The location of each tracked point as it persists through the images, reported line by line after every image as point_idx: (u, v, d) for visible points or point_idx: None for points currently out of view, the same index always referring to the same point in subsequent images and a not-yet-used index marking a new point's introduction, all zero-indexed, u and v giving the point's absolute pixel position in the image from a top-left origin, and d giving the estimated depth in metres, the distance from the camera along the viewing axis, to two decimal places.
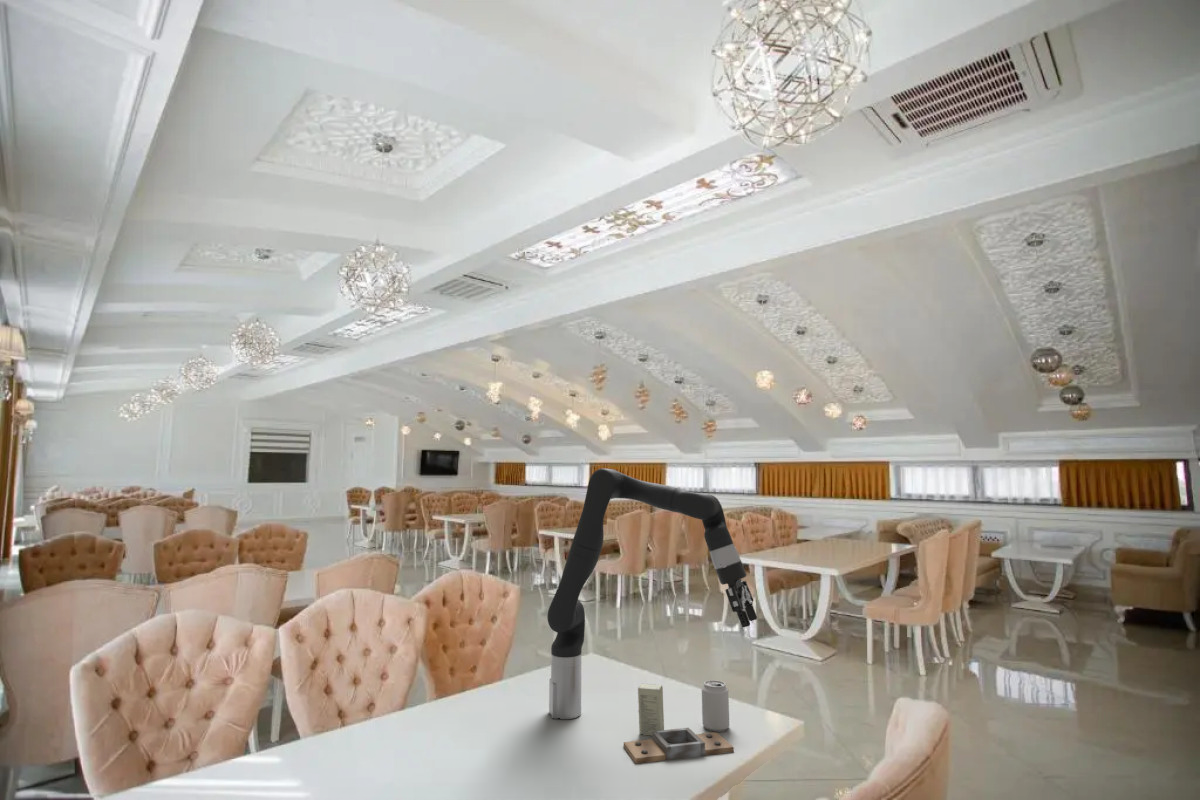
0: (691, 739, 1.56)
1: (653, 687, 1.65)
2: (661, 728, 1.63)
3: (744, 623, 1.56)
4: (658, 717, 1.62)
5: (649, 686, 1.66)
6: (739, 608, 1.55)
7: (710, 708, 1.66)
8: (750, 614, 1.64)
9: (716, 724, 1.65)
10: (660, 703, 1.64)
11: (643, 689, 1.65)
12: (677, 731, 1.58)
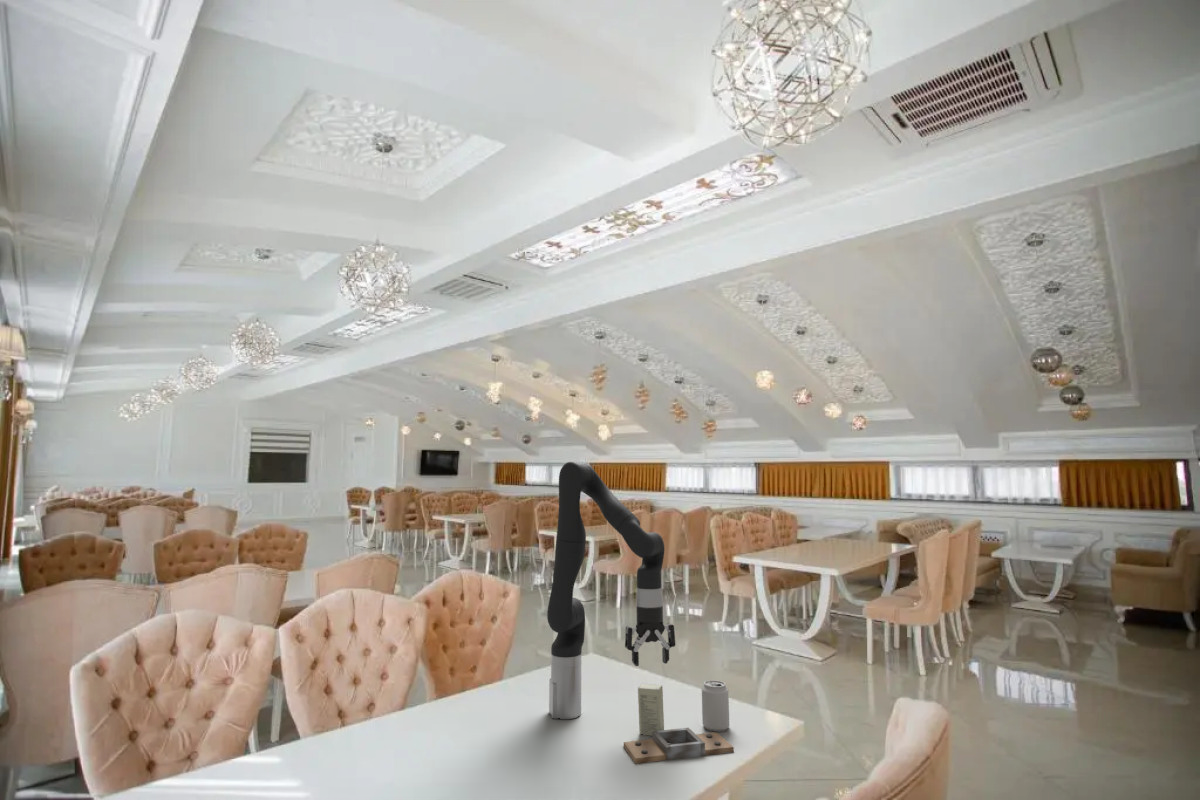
0: (691, 739, 1.56)
1: (653, 687, 1.65)
2: (661, 728, 1.63)
3: (633, 662, 1.66)
4: (658, 717, 1.62)
5: (649, 686, 1.66)
6: (627, 648, 1.66)
7: (710, 708, 1.66)
8: (663, 656, 1.69)
9: (716, 724, 1.65)
10: (660, 703, 1.64)
11: (643, 689, 1.65)
12: (677, 731, 1.58)
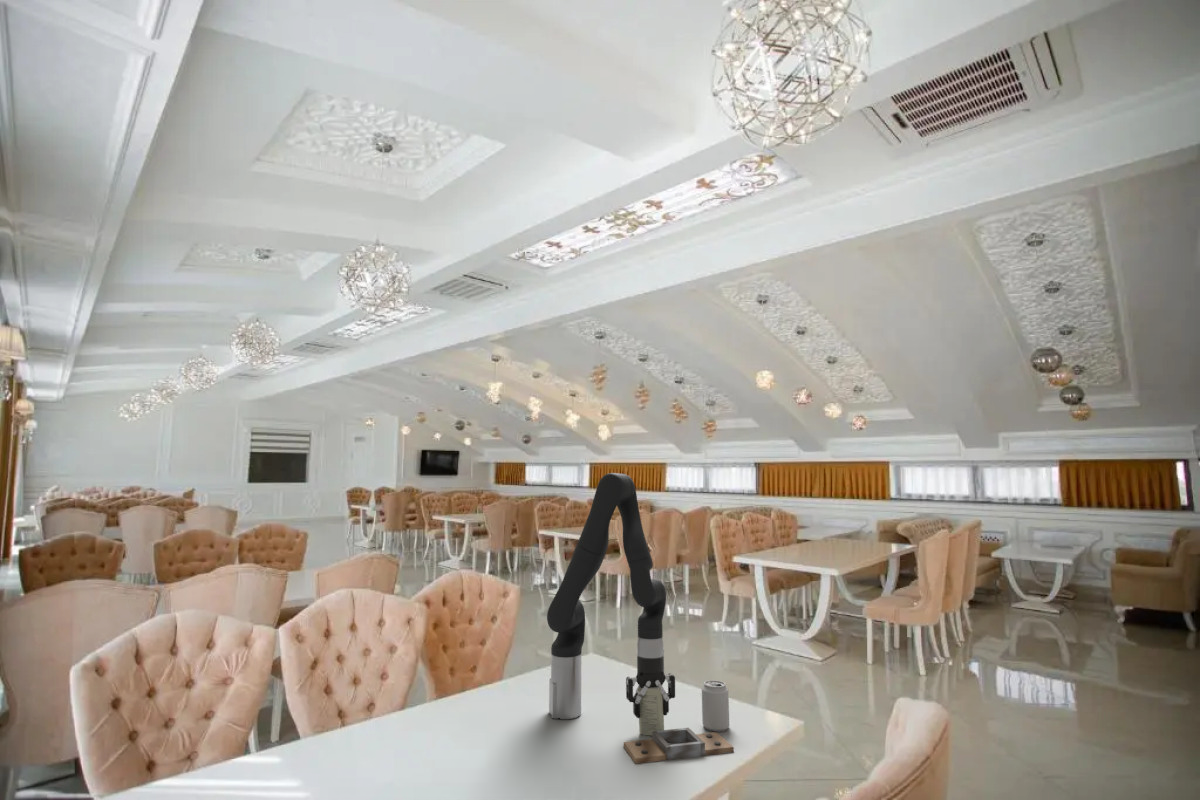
0: (691, 739, 1.56)
1: (653, 687, 1.65)
2: (661, 728, 1.63)
3: (634, 713, 1.64)
4: (658, 717, 1.62)
5: None
6: (628, 699, 1.64)
7: (710, 707, 1.66)
8: (663, 708, 1.66)
9: (716, 724, 1.65)
10: (660, 703, 1.64)
11: None
12: (677, 731, 1.58)
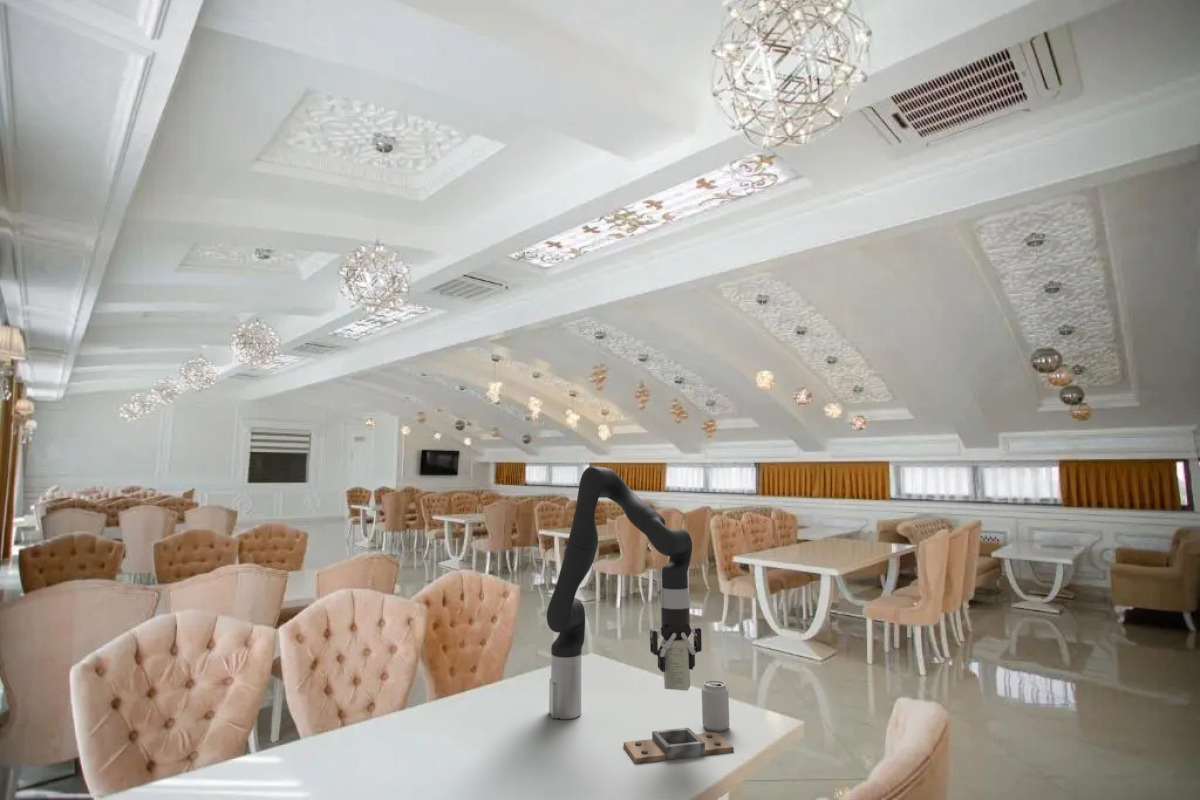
0: (691, 739, 1.56)
1: (678, 640, 1.57)
2: (687, 682, 1.55)
3: (659, 667, 1.56)
4: (684, 670, 1.54)
5: None
6: (653, 652, 1.55)
7: (710, 707, 1.66)
8: (689, 662, 1.58)
9: (716, 724, 1.65)
10: (686, 656, 1.56)
11: None
12: (677, 731, 1.58)
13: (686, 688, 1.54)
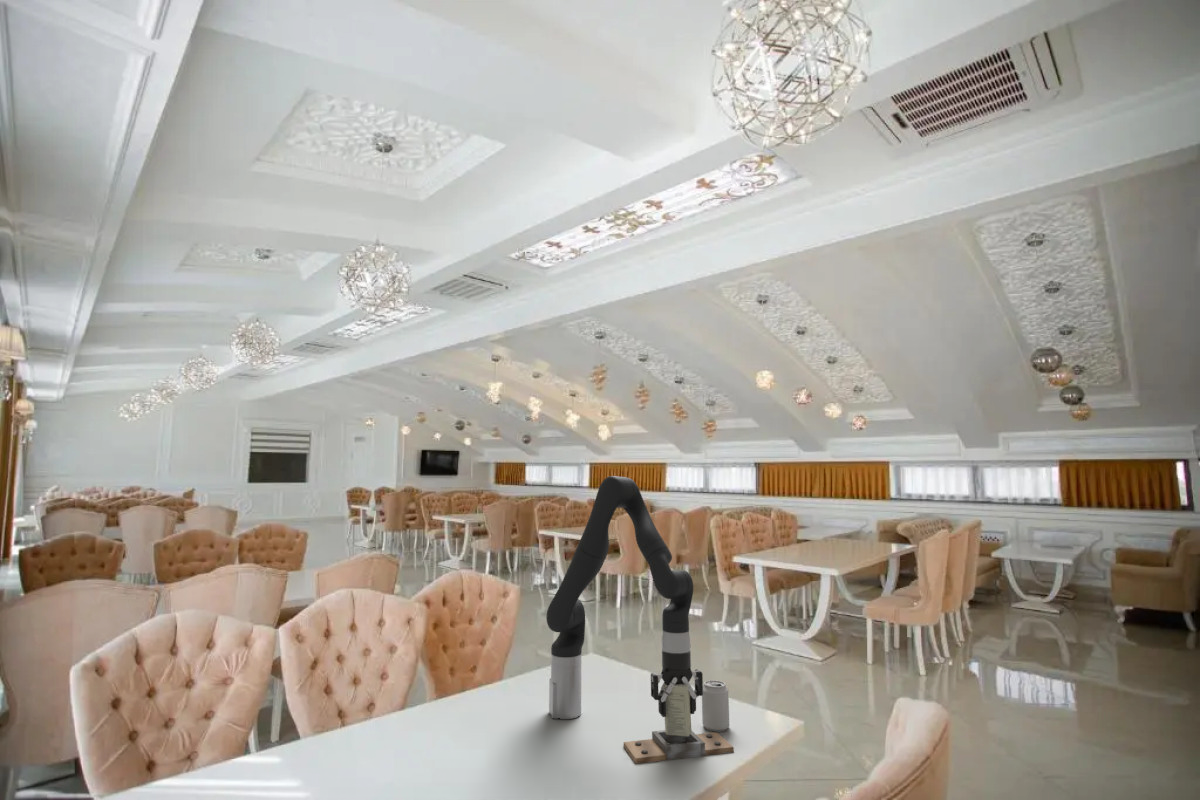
0: (691, 739, 1.56)
1: (679, 684, 1.55)
2: (689, 728, 1.53)
3: (659, 712, 1.54)
4: (685, 716, 1.52)
5: None
6: (653, 697, 1.54)
7: (710, 708, 1.66)
8: (690, 706, 1.56)
9: (716, 724, 1.65)
10: (687, 701, 1.54)
11: None
12: None
13: (687, 734, 1.52)
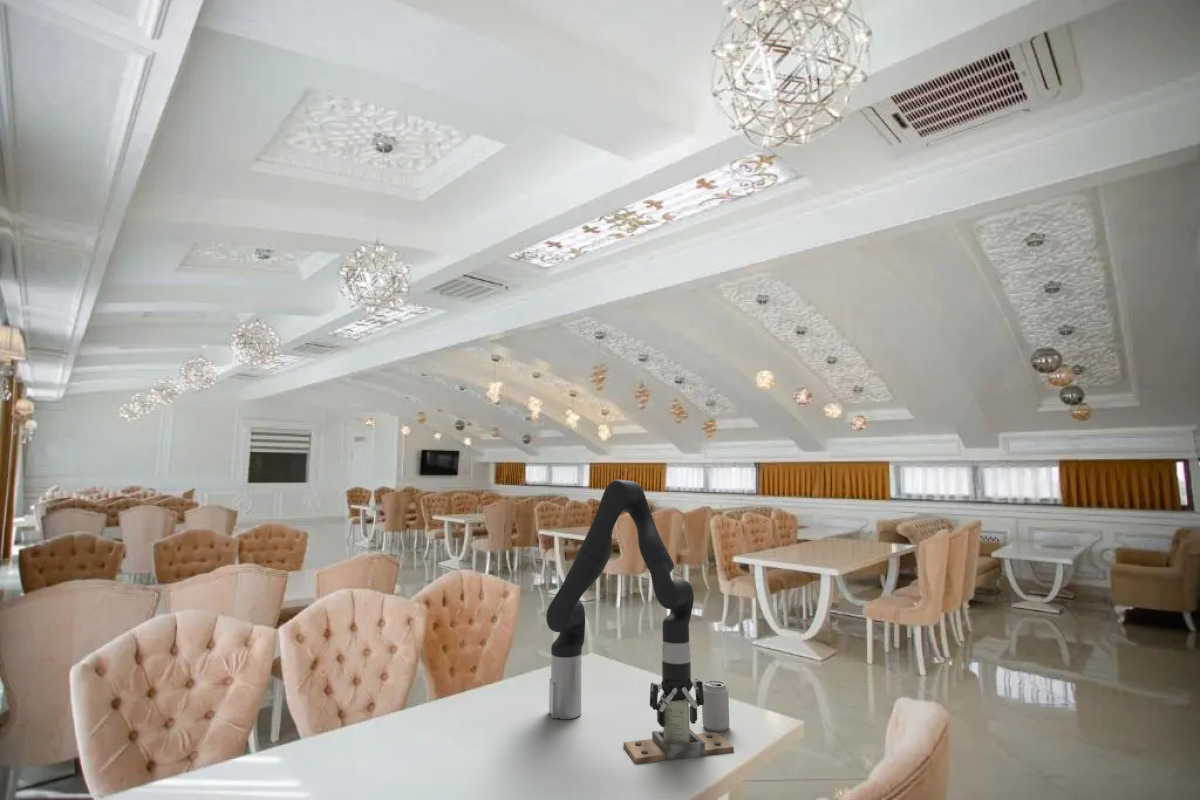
0: (691, 739, 1.56)
1: (679, 700, 1.55)
2: None
3: (658, 722, 1.54)
4: (684, 733, 1.52)
5: None
6: (652, 707, 1.53)
7: (710, 708, 1.66)
8: (691, 715, 1.56)
9: (716, 724, 1.65)
10: (686, 717, 1.53)
11: None
12: None
13: None
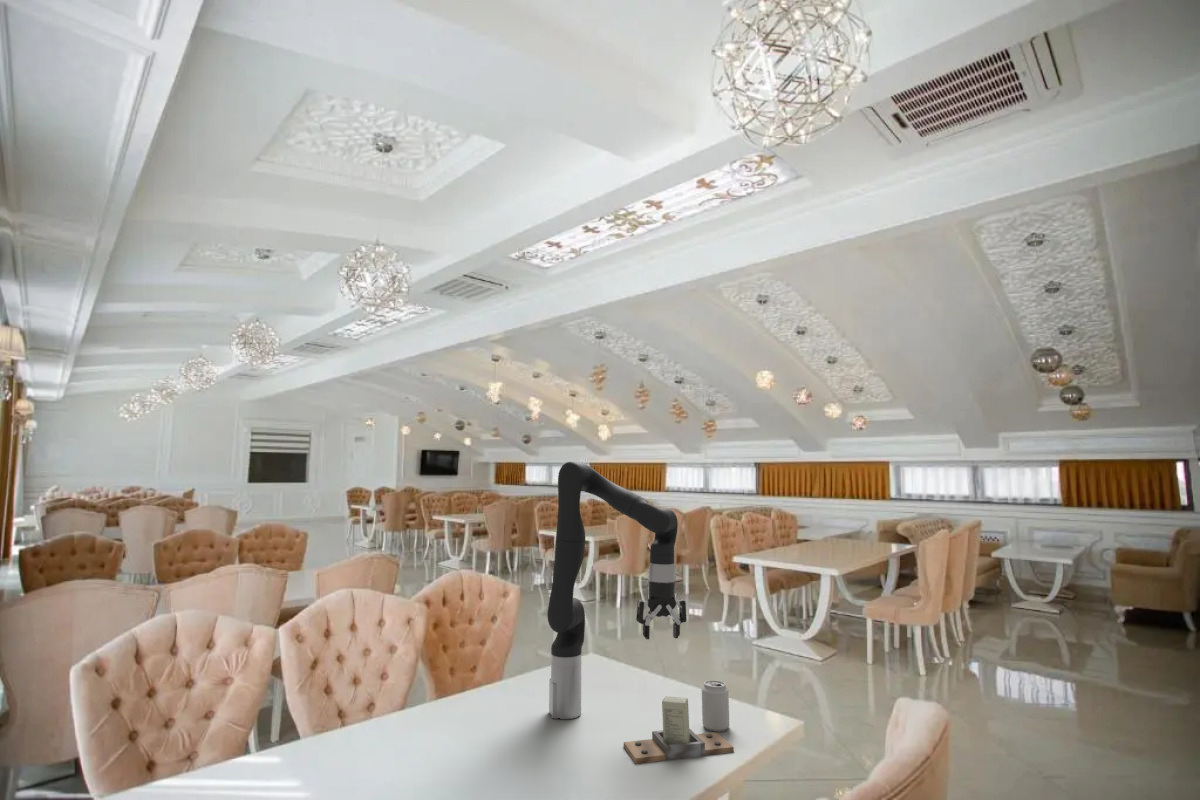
0: (691, 739, 1.56)
1: (678, 700, 1.55)
2: None
3: (643, 635, 1.68)
4: (684, 733, 1.52)
5: (674, 700, 1.55)
6: (638, 621, 1.67)
7: (710, 708, 1.66)
8: (674, 631, 1.70)
9: (716, 724, 1.65)
10: (686, 718, 1.53)
11: (668, 703, 1.54)
12: None
13: None
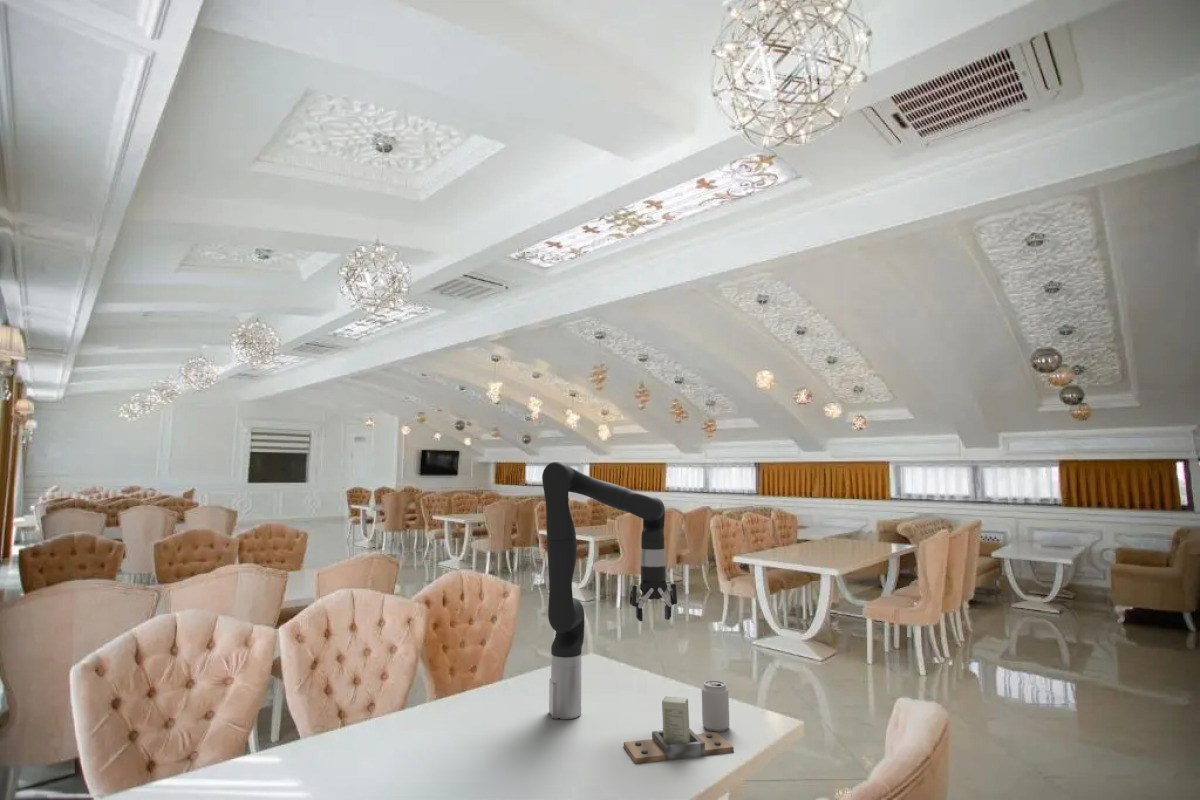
0: (691, 739, 1.56)
1: (678, 700, 1.55)
2: None
3: (637, 617, 1.76)
4: (684, 733, 1.52)
5: (674, 700, 1.55)
6: (631, 604, 1.76)
7: (710, 708, 1.66)
8: (666, 613, 1.79)
9: (716, 724, 1.65)
10: (686, 718, 1.53)
11: (668, 703, 1.54)
12: None
13: None
